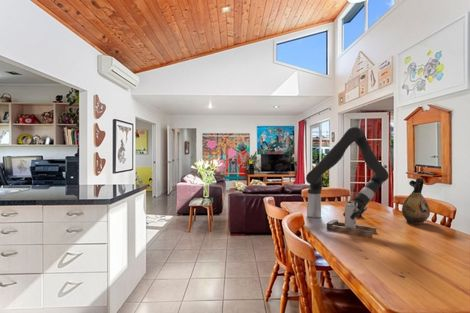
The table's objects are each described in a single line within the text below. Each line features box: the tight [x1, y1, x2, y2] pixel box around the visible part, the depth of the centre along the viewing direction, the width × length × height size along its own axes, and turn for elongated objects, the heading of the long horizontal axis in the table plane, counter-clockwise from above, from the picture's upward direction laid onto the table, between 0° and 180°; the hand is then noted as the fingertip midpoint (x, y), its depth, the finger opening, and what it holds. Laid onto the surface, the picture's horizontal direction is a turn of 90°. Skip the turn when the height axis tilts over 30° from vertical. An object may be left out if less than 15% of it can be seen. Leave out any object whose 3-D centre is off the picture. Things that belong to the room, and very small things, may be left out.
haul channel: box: [326, 218, 378, 238], centre depth 157 cm, size 25×12×4 cm, turn 50°
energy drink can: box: [344, 202, 357, 229], centre depth 157 cm, size 6×6×15 cm
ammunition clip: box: [346, 199, 363, 218], centre depth 196 cm, size 11×2×12 cm, turn 65°
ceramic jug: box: [401, 177, 431, 225], centre depth 175 cm, size 17×15×30 cm
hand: (347, 217), depth 157 cm, fingers closed on energy drink can, 6 cm apart
